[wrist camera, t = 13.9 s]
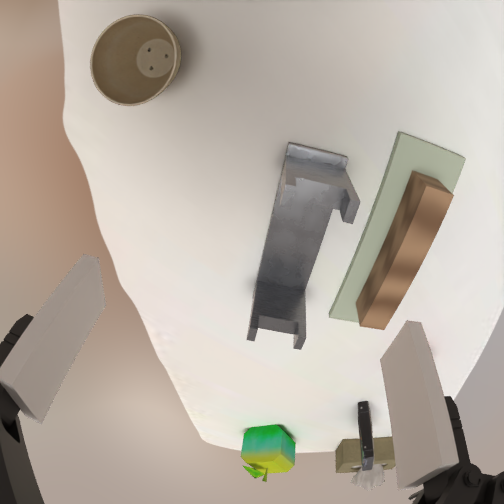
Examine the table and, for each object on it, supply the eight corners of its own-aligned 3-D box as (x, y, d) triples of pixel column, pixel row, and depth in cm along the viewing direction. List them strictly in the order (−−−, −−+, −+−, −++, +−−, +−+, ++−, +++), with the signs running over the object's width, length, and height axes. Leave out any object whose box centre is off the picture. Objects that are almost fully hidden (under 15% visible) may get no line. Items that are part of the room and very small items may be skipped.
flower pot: (155, 5, 28) (129, -3, 22) (214, 53, 32) (197, 52, 26) (106, 66, 33) (74, 71, 27) (159, 112, 36) (134, 124, 30)
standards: (288, 142, 37) (288, 170, 28) (346, 156, 37) (364, 189, 28) (253, 294, 50) (244, 346, 41) (298, 303, 50) (298, 355, 42)
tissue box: (334, 450, 83) (334, 495, 70) (341, 438, 78) (343, 488, 65) (390, 447, 82) (394, 490, 69) (401, 435, 76) (407, 481, 63)
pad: (398, 131, 34) (401, 133, 33) (462, 156, 34) (465, 158, 33) (328, 313, 51) (329, 317, 50) (383, 322, 51) (384, 326, 50)
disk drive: (368, 418, 70) (373, 470, 58) (358, 420, 71) (361, 472, 59) (369, 399, 65) (375, 457, 53) (357, 401, 66) (362, 459, 53)
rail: (412, 170, 35) (426, 185, 31) (437, 179, 35) (453, 195, 31) (355, 302, 48) (359, 326, 44) (378, 306, 48) (384, 329, 44)
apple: (282, 423, 74) (278, 475, 61) (295, 437, 78) (293, 485, 66) (244, 427, 77) (237, 477, 65) (260, 441, 82) (255, 486, 69)
